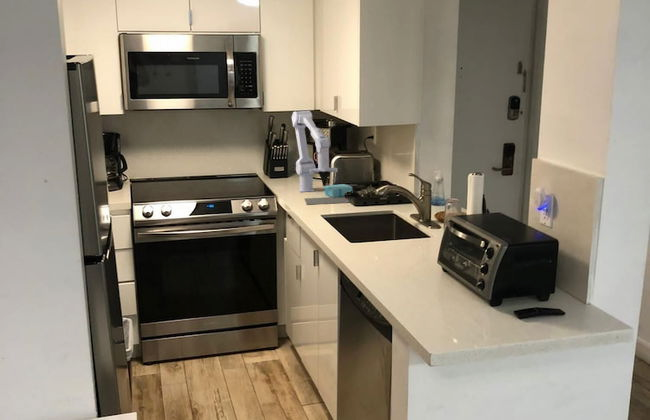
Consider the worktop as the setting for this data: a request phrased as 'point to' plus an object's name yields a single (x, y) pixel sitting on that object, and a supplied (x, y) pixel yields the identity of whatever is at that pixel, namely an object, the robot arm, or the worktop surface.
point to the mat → (326, 200)
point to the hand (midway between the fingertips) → (324, 185)
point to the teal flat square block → (337, 190)
